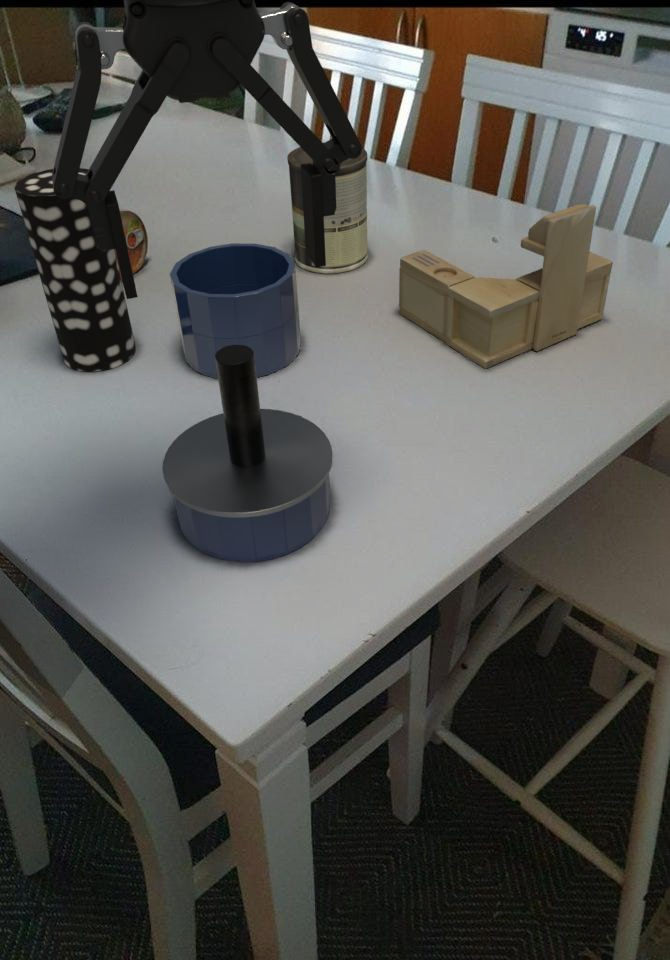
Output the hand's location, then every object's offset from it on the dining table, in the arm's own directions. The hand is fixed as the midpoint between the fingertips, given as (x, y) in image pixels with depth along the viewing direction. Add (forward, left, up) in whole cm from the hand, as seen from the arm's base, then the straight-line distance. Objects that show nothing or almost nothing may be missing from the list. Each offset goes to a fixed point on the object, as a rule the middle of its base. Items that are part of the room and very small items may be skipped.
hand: (225, 274), depth 58 cm
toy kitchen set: (+36, +24, -23) cm, 49 cm away
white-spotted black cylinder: (-11, +33, -23) cm, 42 cm away
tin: (-8, +52, -23) cm, 57 cm away
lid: (0, 0, -17) cm, 17 cm away
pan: (0, 0, -22) cm, 22 cm away
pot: (+5, +28, -22) cm, 36 cm away
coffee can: (+22, +48, -23) cm, 57 cm away
